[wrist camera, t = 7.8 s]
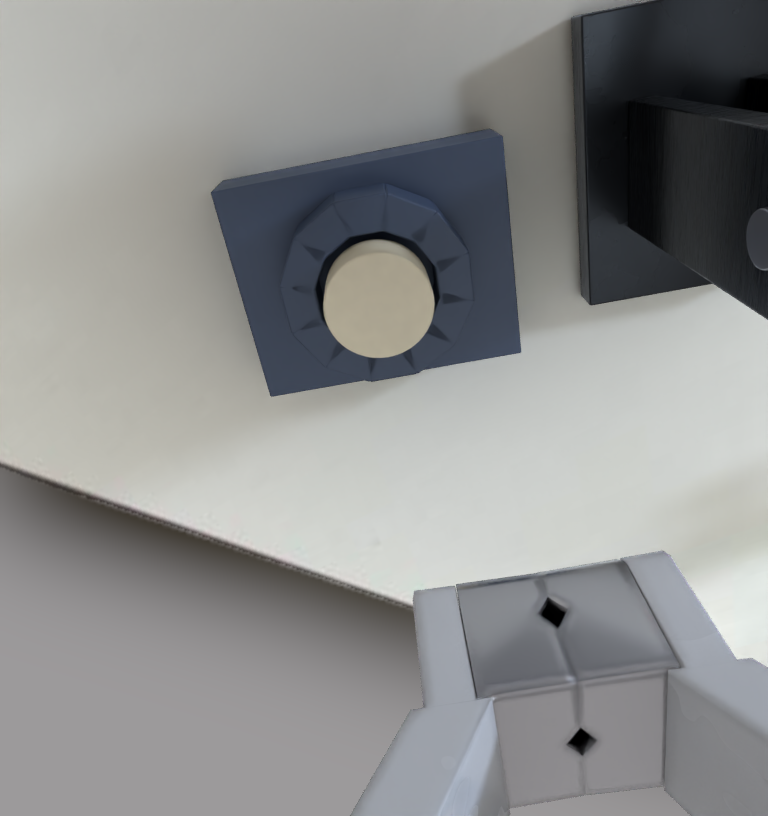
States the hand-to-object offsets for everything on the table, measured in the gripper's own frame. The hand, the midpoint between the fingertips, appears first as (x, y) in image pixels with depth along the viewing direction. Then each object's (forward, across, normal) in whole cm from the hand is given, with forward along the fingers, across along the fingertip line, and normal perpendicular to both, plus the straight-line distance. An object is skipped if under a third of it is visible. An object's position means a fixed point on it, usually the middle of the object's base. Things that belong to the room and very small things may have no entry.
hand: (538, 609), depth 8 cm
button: (+16, +2, +1) cm, 16 cm away
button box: (+20, +2, +1) cm, 20 cm away
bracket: (+20, -10, -1) cm, 22 cm away
